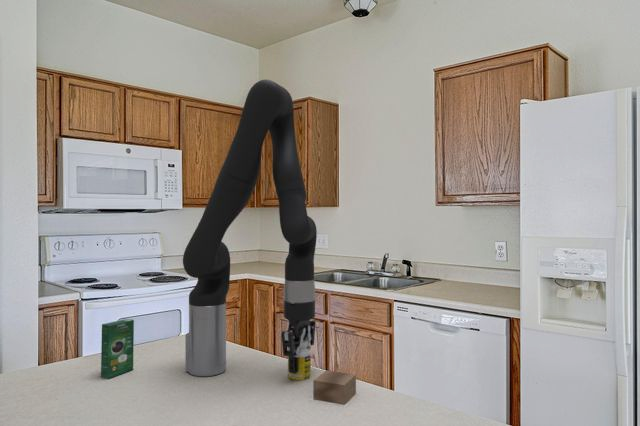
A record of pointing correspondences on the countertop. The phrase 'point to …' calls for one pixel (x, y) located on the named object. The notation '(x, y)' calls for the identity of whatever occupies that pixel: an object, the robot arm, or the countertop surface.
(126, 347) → the coffee box
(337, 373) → the walnut block
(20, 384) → the countertop surface
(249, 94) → the robot arm
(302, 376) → the supplement bottle
